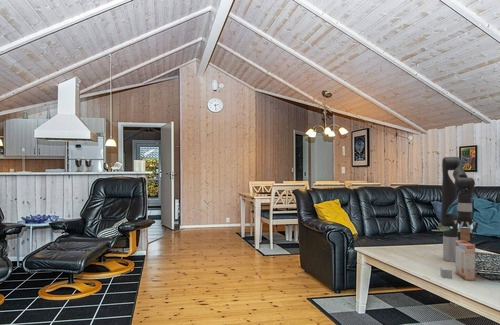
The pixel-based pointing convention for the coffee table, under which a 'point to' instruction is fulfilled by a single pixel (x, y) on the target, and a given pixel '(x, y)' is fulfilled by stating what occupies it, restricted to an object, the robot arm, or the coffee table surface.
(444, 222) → the robot arm
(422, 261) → the coffee table surface
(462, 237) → the walnut block
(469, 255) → the cracker box
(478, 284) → the coffee table surface
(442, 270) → the grey block
